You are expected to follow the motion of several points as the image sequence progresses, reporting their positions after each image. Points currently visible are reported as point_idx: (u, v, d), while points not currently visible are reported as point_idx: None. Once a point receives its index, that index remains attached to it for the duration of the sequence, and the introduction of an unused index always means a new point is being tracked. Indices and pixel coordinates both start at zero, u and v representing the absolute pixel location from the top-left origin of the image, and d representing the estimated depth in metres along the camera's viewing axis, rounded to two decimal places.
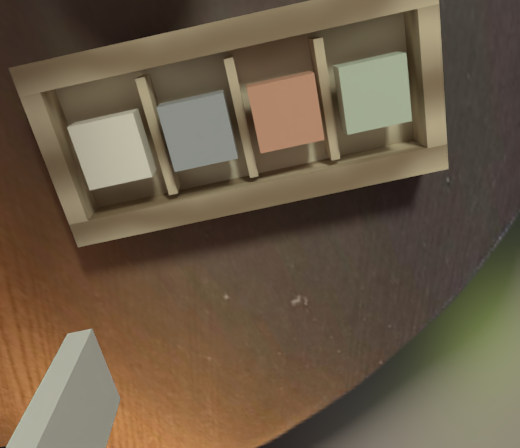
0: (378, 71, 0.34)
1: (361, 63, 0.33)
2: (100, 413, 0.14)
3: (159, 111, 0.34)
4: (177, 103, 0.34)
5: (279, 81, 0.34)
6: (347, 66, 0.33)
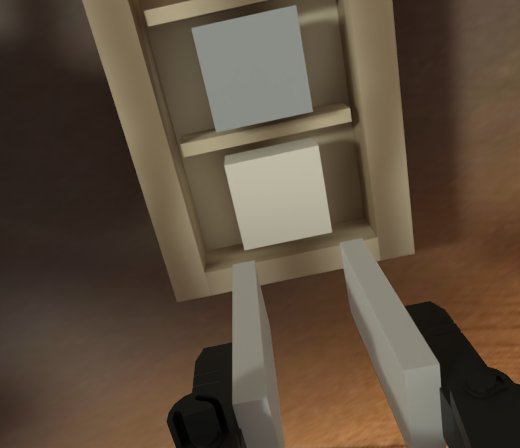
0: None
1: None
2: (268, 331, 0.15)
3: (221, 128, 0.23)
4: (209, 101, 0.23)
5: None
6: None
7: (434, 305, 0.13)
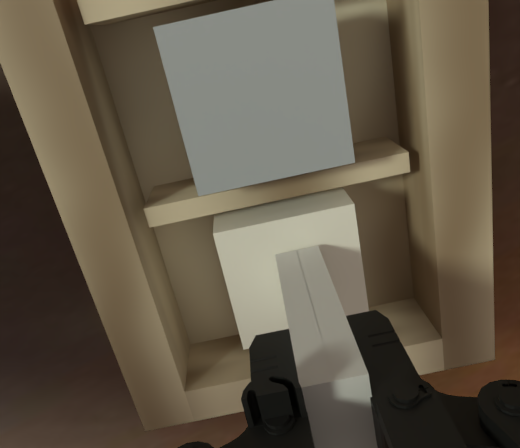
0: None
1: None
2: None
3: (207, 189, 0.14)
4: (187, 146, 0.14)
5: None
6: None
7: (379, 314, 0.13)
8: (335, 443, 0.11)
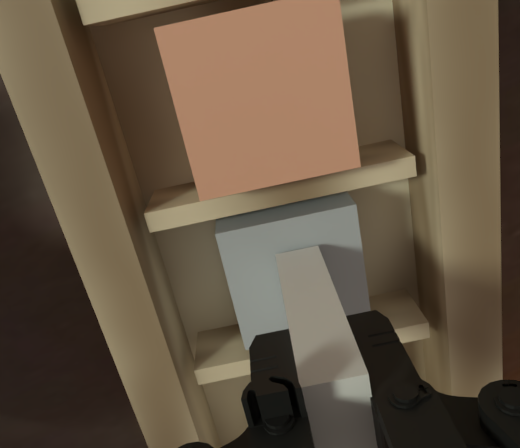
0: None
1: None
2: None
3: None
4: (237, 314, 0.17)
5: (181, 122, 0.13)
6: None
7: (379, 314, 0.13)
8: (335, 443, 0.11)
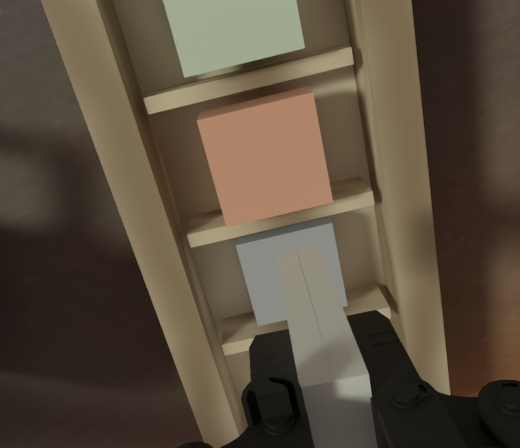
0: None
1: (173, 33, 0.18)
2: None
3: (262, 322, 0.25)
4: (252, 301, 0.25)
5: (214, 177, 0.20)
6: (181, 60, 0.18)
7: (379, 314, 0.13)
8: (335, 443, 0.11)
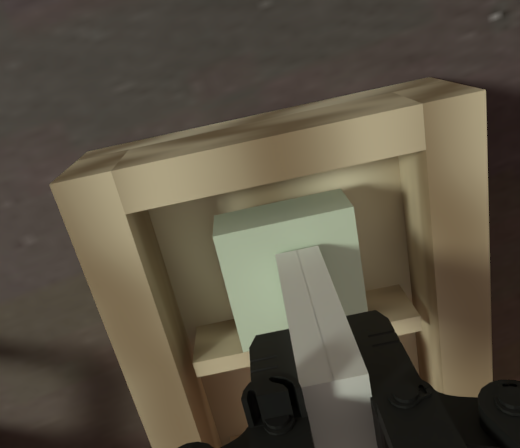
0: (249, 284, 0.17)
1: (235, 315, 0.17)
2: None
3: None
4: None
5: None
6: (240, 337, 0.18)
7: (379, 314, 0.13)
8: (336, 443, 0.11)
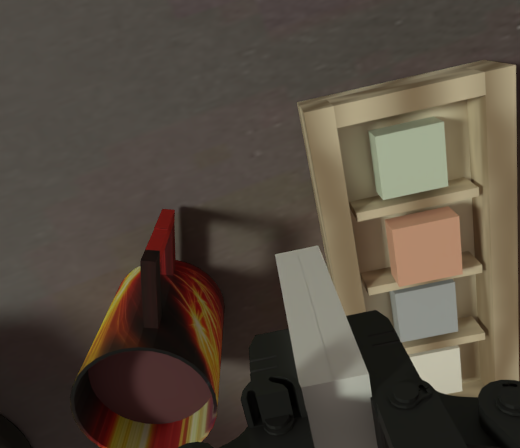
0: (390, 162, 0.34)
1: (381, 179, 0.35)
2: None
3: (404, 340, 0.40)
4: (399, 327, 0.40)
5: (396, 259, 0.35)
6: (382, 191, 0.35)
7: (379, 314, 0.13)
8: (335, 443, 0.11)
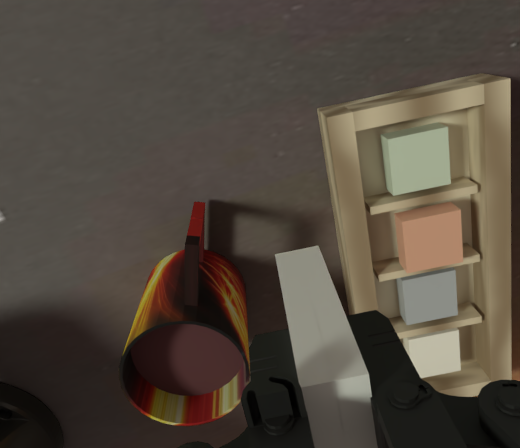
0: (400, 162, 0.39)
1: (392, 177, 0.39)
2: None
3: (409, 323, 0.45)
4: (405, 311, 0.44)
5: (405, 248, 0.40)
6: (393, 188, 0.40)
7: (379, 314, 0.13)
8: (335, 443, 0.11)
